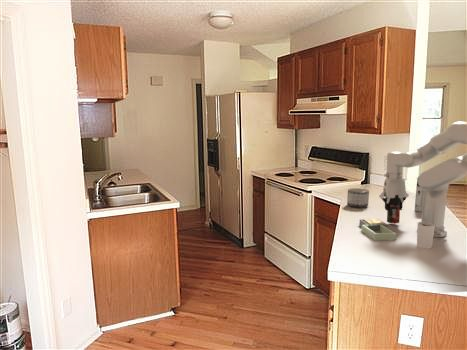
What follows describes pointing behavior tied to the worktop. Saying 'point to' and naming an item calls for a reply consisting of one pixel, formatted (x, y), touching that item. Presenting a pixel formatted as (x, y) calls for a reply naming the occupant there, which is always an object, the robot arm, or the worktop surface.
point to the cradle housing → (372, 225)
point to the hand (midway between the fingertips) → (393, 209)
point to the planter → (358, 197)
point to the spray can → (419, 198)
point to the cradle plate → (373, 221)
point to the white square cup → (425, 234)
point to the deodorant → (394, 210)
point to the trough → (385, 234)
